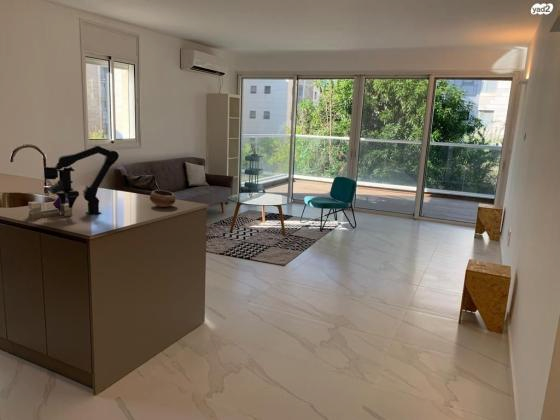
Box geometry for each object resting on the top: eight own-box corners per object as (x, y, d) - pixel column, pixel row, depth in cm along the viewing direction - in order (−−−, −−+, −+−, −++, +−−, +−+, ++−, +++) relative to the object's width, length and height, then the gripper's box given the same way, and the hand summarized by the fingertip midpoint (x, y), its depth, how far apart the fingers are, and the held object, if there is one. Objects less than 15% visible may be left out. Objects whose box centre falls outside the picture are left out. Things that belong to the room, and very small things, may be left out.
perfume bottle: (53, 209, 255) (51, 179, 252) (56, 207, 262) (55, 177, 259) (66, 210, 257) (65, 179, 253) (70, 207, 264) (69, 177, 260)
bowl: (168, 210, 272) (168, 194, 270) (145, 207, 275) (145, 192, 273) (179, 205, 287) (179, 190, 285) (157, 203, 290) (157, 188, 288)
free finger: (72, 215, 245) (71, 204, 244) (64, 216, 242) (63, 205, 241) (68, 213, 248) (67, 203, 247) (60, 214, 245) (59, 204, 244)
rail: (60, 215, 244) (59, 201, 242) (33, 218, 233) (32, 203, 231) (55, 213, 247) (54, 199, 246) (28, 216, 237) (28, 202, 235)
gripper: (42, 178, 241) (44, 205, 244) (57, 182, 229) (59, 211, 233) (63, 176, 249) (64, 203, 253) (78, 180, 238) (80, 209, 241)
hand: (66, 206), depth 244 cm, fingers open, 9 cm apart
